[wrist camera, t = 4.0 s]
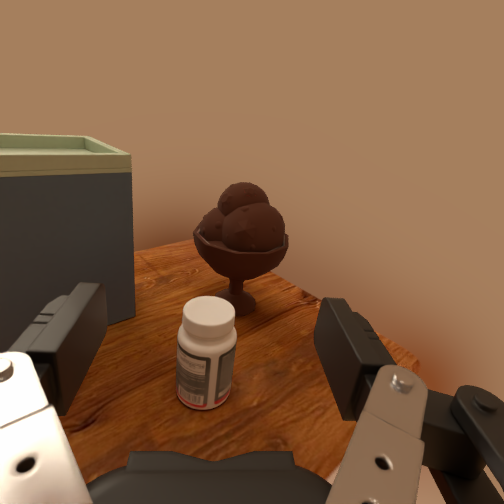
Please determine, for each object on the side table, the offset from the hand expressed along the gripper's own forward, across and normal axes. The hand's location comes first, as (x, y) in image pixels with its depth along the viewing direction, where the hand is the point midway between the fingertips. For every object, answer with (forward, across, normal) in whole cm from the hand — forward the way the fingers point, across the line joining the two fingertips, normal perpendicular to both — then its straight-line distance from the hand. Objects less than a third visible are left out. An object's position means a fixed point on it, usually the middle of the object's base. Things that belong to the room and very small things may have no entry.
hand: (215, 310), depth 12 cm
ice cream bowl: (+25, -3, +16) cm, 30 cm away
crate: (+21, +16, +16) cm, 31 cm away
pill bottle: (+11, 0, +16) cm, 20 cm away
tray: (+21, +16, 0) cm, 27 cm away
